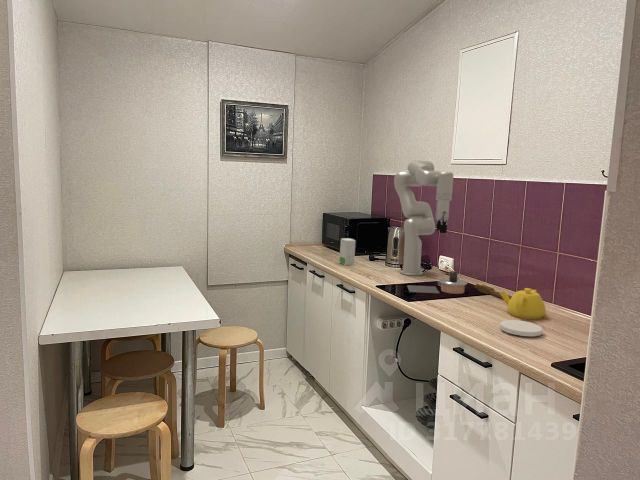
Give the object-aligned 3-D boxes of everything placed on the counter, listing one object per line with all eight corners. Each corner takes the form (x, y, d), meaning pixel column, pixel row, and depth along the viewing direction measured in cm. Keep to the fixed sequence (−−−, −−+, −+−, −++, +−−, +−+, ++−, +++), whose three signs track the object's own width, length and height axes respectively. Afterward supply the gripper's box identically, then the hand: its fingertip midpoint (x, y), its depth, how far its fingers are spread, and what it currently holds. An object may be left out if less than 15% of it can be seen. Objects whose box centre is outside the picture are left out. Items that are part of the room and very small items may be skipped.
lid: (436, 279, 236) (437, 268, 235) (463, 280, 235) (464, 269, 234) (441, 285, 223) (442, 273, 222) (470, 286, 222) (470, 275, 221)
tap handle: (515, 298, 210) (473, 283, 238) (514, 305, 210) (473, 289, 238) (520, 298, 210) (478, 283, 239) (520, 305, 211) (478, 289, 239)
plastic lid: (543, 341, 163) (543, 334, 163) (499, 335, 168) (499, 328, 168) (540, 329, 176) (541, 323, 176) (500, 324, 181) (500, 318, 181)
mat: (406, 286, 239) (406, 285, 239) (435, 287, 238) (435, 286, 238) (409, 293, 225) (409, 291, 225) (439, 294, 224) (439, 293, 224)
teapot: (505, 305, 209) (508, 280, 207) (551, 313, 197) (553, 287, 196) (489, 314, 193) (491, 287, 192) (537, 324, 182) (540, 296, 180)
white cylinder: (339, 263, 297) (340, 238, 295) (348, 262, 300) (349, 238, 298) (345, 265, 289) (346, 240, 287) (355, 265, 292) (356, 239, 290)
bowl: (439, 289, 235) (440, 280, 234) (461, 290, 234) (461, 281, 234) (443, 294, 225) (444, 284, 224) (465, 295, 224) (466, 285, 223)
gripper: (433, 195, 245) (431, 228, 248) (439, 198, 228) (436, 233, 231) (448, 196, 244) (445, 229, 247) (455, 198, 227) (452, 234, 230)
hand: (441, 231), depth 239 cm, fingers open, 9 cm apart
